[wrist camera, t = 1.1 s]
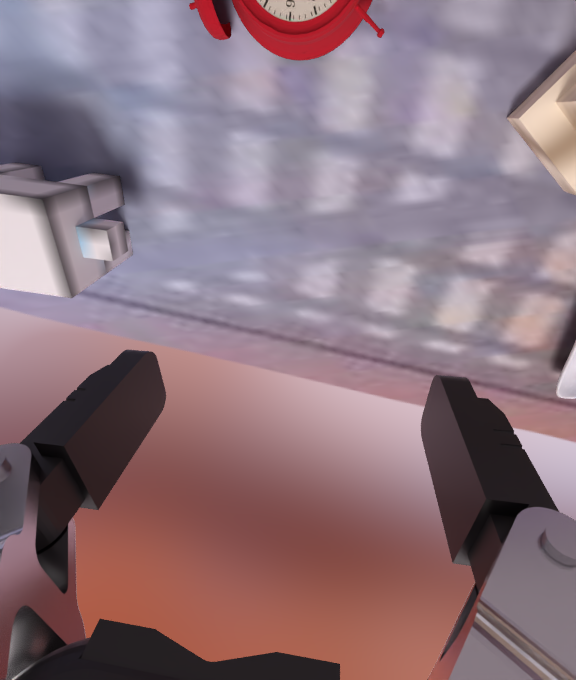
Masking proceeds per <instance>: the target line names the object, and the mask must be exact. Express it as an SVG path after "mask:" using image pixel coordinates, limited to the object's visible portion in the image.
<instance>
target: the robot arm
mask: <svg viewBox="0 0 576 680" xmlns="http://www.w3.org/2000/svg"><path fill="white" fill-rule="evenodd" d="M165 400H166V392H165V387H164V383H163V380H162V376H161V372H160V368H159V365H158V361H157V358H156V355H155V354H154V353H153V352H149V351H136V350H125V351H124V352H122V353H121V354H120V355H119V356H118V357H117V358H116V359H115V360H114V361H113V362H112V363H111V364H110V365H107V366H105V367H103V368H102V369H100V370H98V371H97V372H95V373H93V374H91V375H90V376H89V377H88V378H87V379H86V380H85V381H84V382H83V383H81V384H80V385H79V387H78V388H77V390H74V391H73V392H72V393H71V394H70V395H69V396H68V397H67V399H66V401H63V402H62V403H61V404H60V405H59V406H58V407H57V408H56V409H55V410H54V411H53V412H52V413H51V414H50V415H48V417H46V418H45V419H44V420H43V421H42V422H41V423H40V424H39V425H38V426H37V427H36V428H35V429H34V430H33V431H32V432H31V433H30V434H29V435H28V436H27V437H26V438H25V439H24V440H23V441H22V442H21V443H19V444H18V443H11V444H5V445H0V680H340V664H337V663H332V662H327V661H321V660H316V659H311V658H306V657H300V656H294V655H290V654H284V653H279V652H275V653H268V654H262V655H256V656H250V657H243V658H237V659H231V660H225V661H218V662H209V661H205V660H203V659H202V658H200V657H198V656H197V655H195V654H194V653H192V652H190V651H189V650H187V649H186V648H184V647H182V646H181V645H179V644H178V643H176V642H174V641H173V640H171V639H169V638H168V637H167V636H165V635H163V634H162V633H160V632H159V631H157V630H155V629H151V628H146V627H141V626H135V625H130V624H125V623H120V622H114V621H109V620H104V619H100V620H99V622H98V624H97V626H96V628H95V630H94V632H93V634H92V636H91V637H90V638H86V636H85V629H84V624H83V620H82V617H81V614H80V611H79V608H78V603H77V594H76V543H75V542H76V541H75V522H74V520H73V518H72V517H73V516H74V515H75V513H76V512H77V510H78V508H79V507H81V508H88V509H95V510H99V508H100V506H101V505H102V503H103V502H104V500H105V499H106V497H107V496H108V494H109V493H110V491H111V489H112V488H113V486H114V485H115V483H116V482H117V480H118V479H119V477H120V475H121V474H122V472H123V471H124V469H125V468H126V466H127V465H128V463H129V461H130V460H131V458H132V457H133V455H134V454H135V452H136V451H137V449H138V448H139V446H140V445H141V443H142V441H143V440H144V438H145V437H146V435H147V434H148V432H149V431H150V429H151V428H152V426H153V424H154V423H155V421H156V420H157V418H158V417H159V415H160V414H161V412H162V410H163V408H164V404H165ZM421 436H422V441H423V445H424V449H425V453H426V457H427V461H428V465H429V469H430V473H431V477H432V481H433V485H434V489H435V494H436V498H437V502H438V506H439V509H440V513H441V518H442V522H443V526H444V530H445V534H446V538H447V542H448V546H449V550H450V554H451V558H452V562H453V563H456V564H462V565H469V566H471V568H472V572H473V575H474V579H475V583H474V585H473V587H472V589H471V591H470V593H469V595H468V597H467V599H466V601H465V603H464V605H463V608H462V610H461V612H460V614H459V616H458V618H457V620H456V622H455V624H454V626H453V628H452V631H451V633H450V635H449V637H448V639H447V641H446V643H445V645H444V647H443V649H442V652H441V654H440V656H439V658H438V660H437V662H436V664H435V666H434V668H433V670H432V672H431V674H430V675H429V677H428V679H427V680H576V521H575V520H574V519H572V518H570V517H568V516H566V515H565V514H563V513H560V512H559V511H558V509H557V507H556V506H555V504H554V502H553V500H552V498H551V497H550V495H549V493H548V491H547V489H546V488H545V486H544V484H543V482H542V481H541V479H540V477H539V475H538V473H537V471H536V470H535V468H534V466H533V464H532V462H531V461H530V459H529V457H528V455H527V453H526V452H525V450H524V449H522V445H521V443H520V441H519V439H518V437H517V436H516V435H515V434H514V430H513V428H512V427H511V425H510V423H509V421H508V419H507V418H506V416H505V414H504V413H503V412H502V411H501V410H500V409H498V408H497V407H496V406H495V405H494V404H493V403H492V402H491V401H490V400H489V399H485V398H477V396H476V394H475V392H474V390H473V387H472V385H471V383H470V381H469V380H468V379H467V378H465V377H453V376H440V375H436V376H435V377H434V378H433V381H432V384H431V387H430V391H429V394H428V398H427V401H426V405H425V408H424V412H423V416H422V421H421Z"/></svg>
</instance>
